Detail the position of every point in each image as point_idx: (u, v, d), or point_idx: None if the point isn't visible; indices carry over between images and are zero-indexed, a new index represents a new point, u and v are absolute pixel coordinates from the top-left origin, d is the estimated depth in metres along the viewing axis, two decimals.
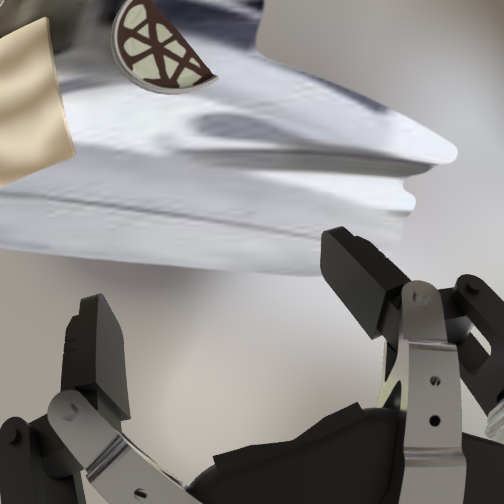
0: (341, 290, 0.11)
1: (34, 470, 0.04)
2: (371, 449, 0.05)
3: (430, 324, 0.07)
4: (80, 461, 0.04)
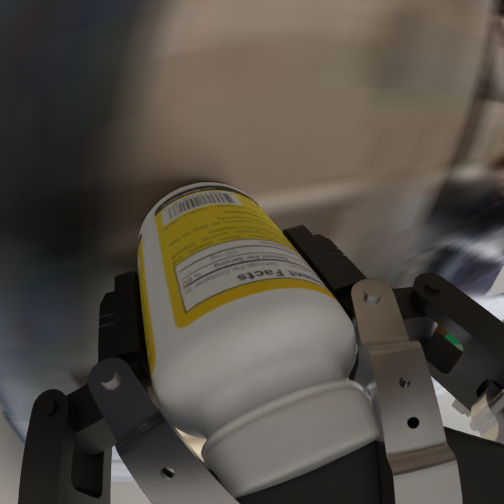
0: None
1: (65, 447, 0.05)
2: (353, 462, 0.04)
3: (387, 323, 0.07)
4: (112, 429, 0.05)
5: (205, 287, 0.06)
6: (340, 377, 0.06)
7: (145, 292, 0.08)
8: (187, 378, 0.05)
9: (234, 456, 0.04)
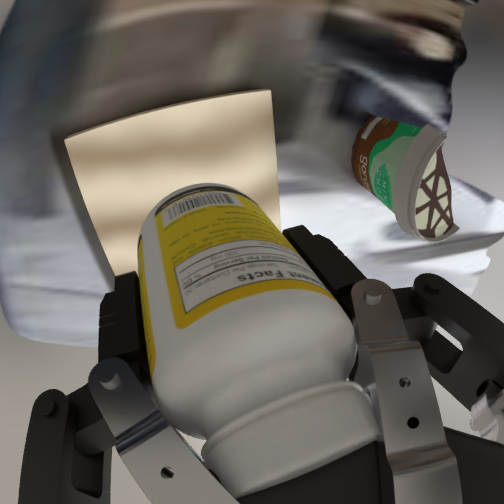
0: None
1: (65, 447, 0.05)
2: (353, 462, 0.04)
3: (387, 323, 0.07)
4: (112, 430, 0.05)
5: (205, 288, 0.06)
6: (340, 378, 0.06)
7: (145, 293, 0.08)
8: (187, 379, 0.05)
9: (234, 456, 0.04)
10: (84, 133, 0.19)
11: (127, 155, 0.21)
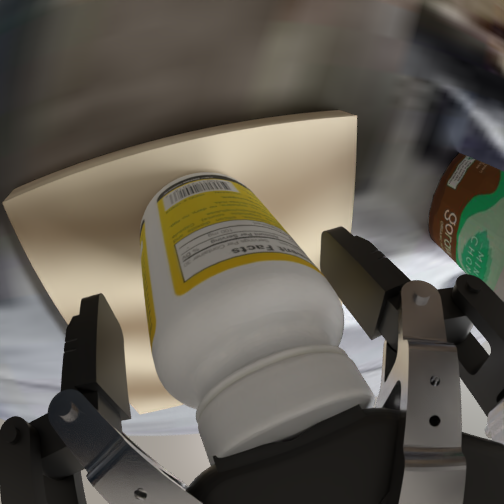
0: (341, 290, 0.11)
1: (34, 470, 0.04)
2: (371, 449, 0.05)
3: (429, 324, 0.07)
4: (80, 461, 0.04)
5: (202, 260, 0.07)
6: (326, 344, 0.07)
7: (147, 270, 0.09)
8: (184, 340, 0.06)
9: (225, 411, 0.05)
10: (33, 191, 0.10)
11: (111, 227, 0.12)
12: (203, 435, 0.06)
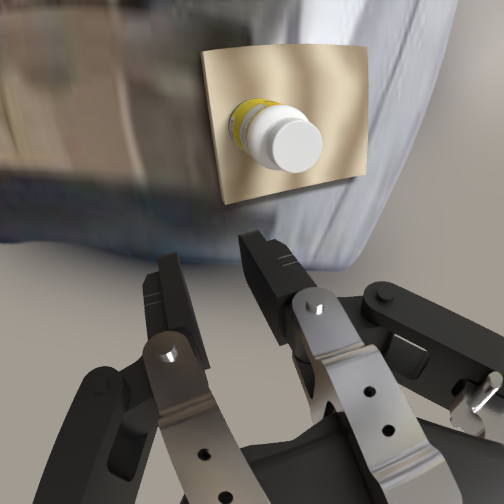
0: (256, 294, 0.11)
1: (110, 429, 0.05)
2: (335, 480, 0.04)
3: (336, 331, 0.07)
4: (158, 402, 0.06)
5: (246, 148, 0.24)
6: None
7: None
8: (262, 162, 0.23)
9: (275, 164, 0.22)
10: (223, 190, 0.31)
11: (245, 160, 0.30)
12: None
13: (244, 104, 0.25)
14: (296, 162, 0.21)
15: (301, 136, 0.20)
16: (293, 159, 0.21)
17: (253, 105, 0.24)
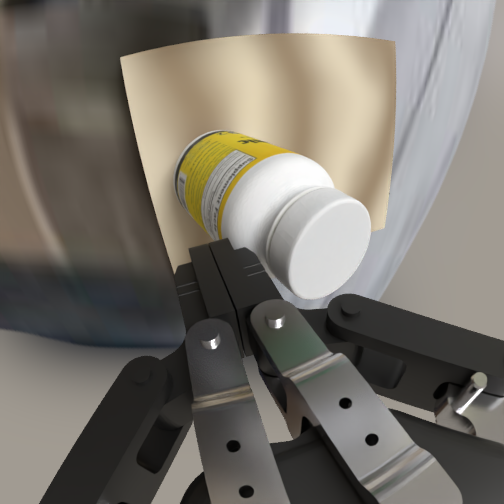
0: None
1: (146, 421, 0.06)
2: (326, 495, 0.04)
3: (301, 343, 0.07)
4: (193, 388, 0.06)
5: None
6: (280, 208, 0.10)
7: None
8: None
9: None
10: None
11: None
12: None
13: (201, 147, 0.14)
14: (328, 280, 0.11)
15: (342, 231, 0.10)
16: (324, 276, 0.11)
17: (221, 152, 0.13)
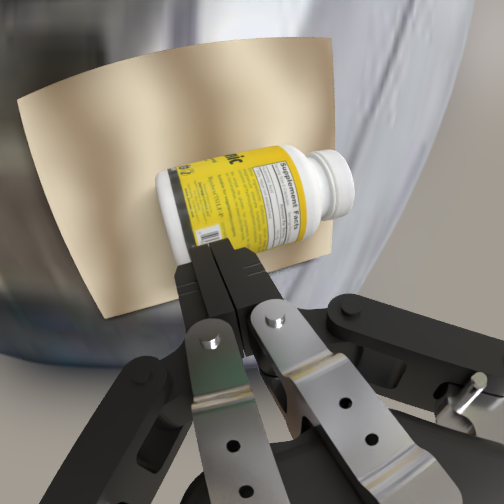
0: None
1: (146, 421, 0.06)
2: (326, 495, 0.04)
3: (301, 343, 0.07)
4: (193, 388, 0.06)
5: (291, 238, 0.15)
6: (322, 178, 0.15)
7: None
8: None
9: None
10: (96, 302, 0.19)
11: (116, 261, 0.18)
12: None
13: (203, 192, 0.13)
14: None
15: None
16: None
17: (244, 177, 0.13)
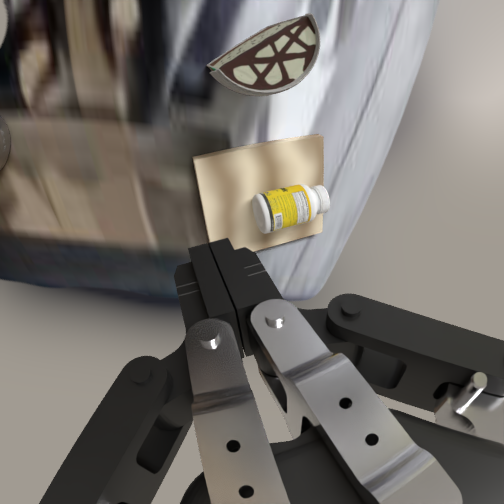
0: None
1: (146, 421, 0.06)
2: (326, 495, 0.04)
3: (301, 343, 0.07)
4: (193, 388, 0.06)
5: (306, 219, 0.40)
6: (316, 196, 0.41)
7: None
8: None
9: (323, 212, 0.42)
10: None
11: (227, 232, 0.44)
12: None
13: (275, 201, 0.39)
14: None
15: None
16: None
17: (289, 196, 0.39)
